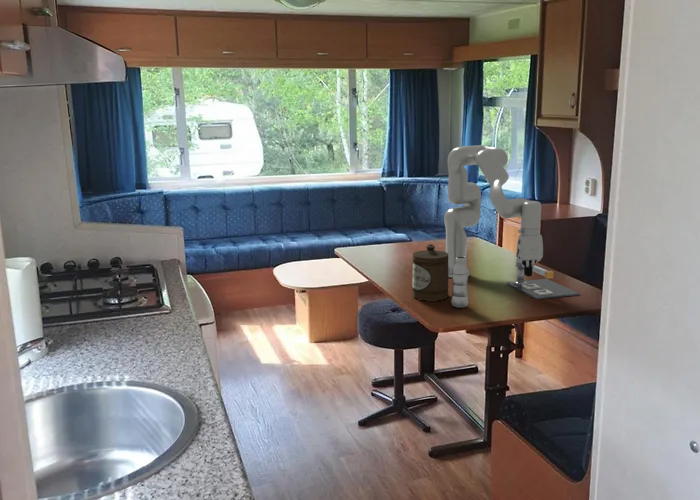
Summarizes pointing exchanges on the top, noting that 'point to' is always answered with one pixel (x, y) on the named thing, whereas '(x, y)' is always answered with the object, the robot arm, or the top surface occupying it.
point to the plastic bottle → (459, 283)
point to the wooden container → (430, 274)
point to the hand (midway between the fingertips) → (527, 275)
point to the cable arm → (538, 270)
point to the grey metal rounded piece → (520, 277)
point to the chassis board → (544, 284)
